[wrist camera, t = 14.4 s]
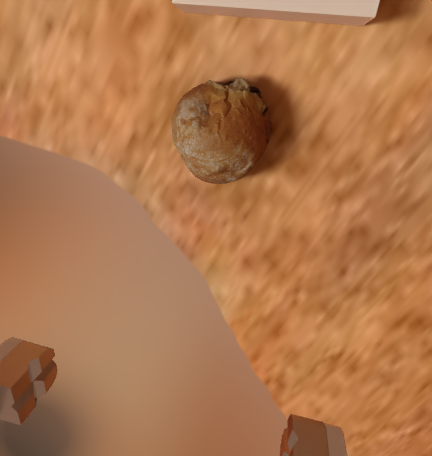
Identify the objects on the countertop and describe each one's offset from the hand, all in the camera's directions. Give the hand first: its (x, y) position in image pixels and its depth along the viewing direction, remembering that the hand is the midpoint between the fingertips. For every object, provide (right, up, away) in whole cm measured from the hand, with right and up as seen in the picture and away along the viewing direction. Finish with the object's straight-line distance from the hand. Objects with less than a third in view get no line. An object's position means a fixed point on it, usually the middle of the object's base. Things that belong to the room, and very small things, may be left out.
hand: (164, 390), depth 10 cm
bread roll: (+3, +16, +23) cm, 28 cm away
